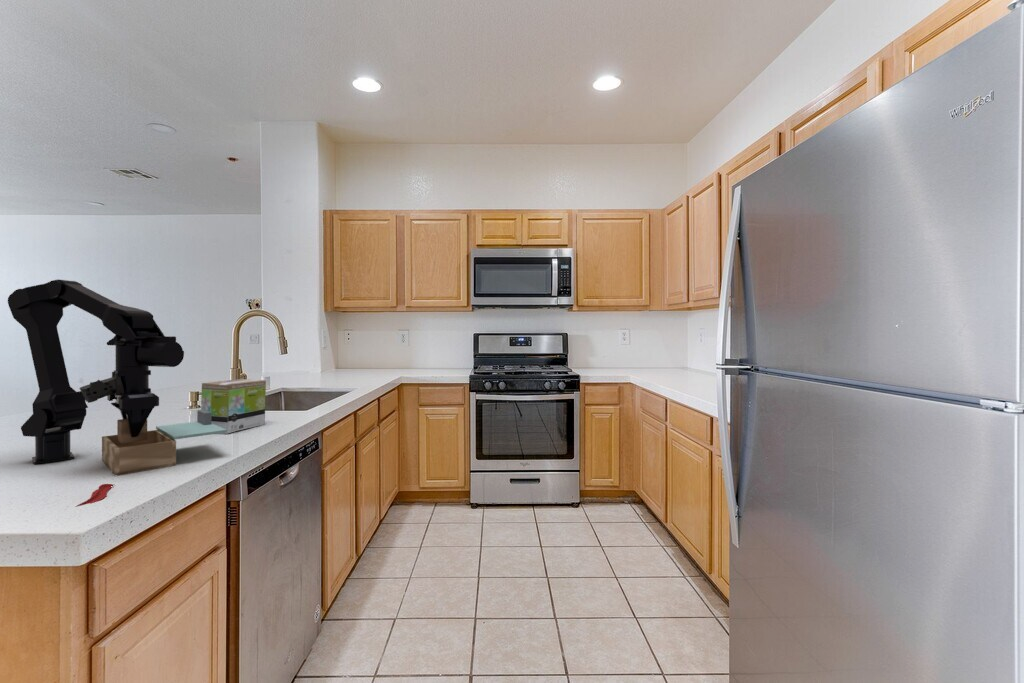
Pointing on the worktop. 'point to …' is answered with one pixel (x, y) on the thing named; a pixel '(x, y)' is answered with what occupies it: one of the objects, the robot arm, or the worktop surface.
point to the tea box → (235, 403)
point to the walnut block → (125, 434)
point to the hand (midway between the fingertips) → (132, 435)
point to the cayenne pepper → (98, 494)
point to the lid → (192, 427)
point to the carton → (139, 453)
